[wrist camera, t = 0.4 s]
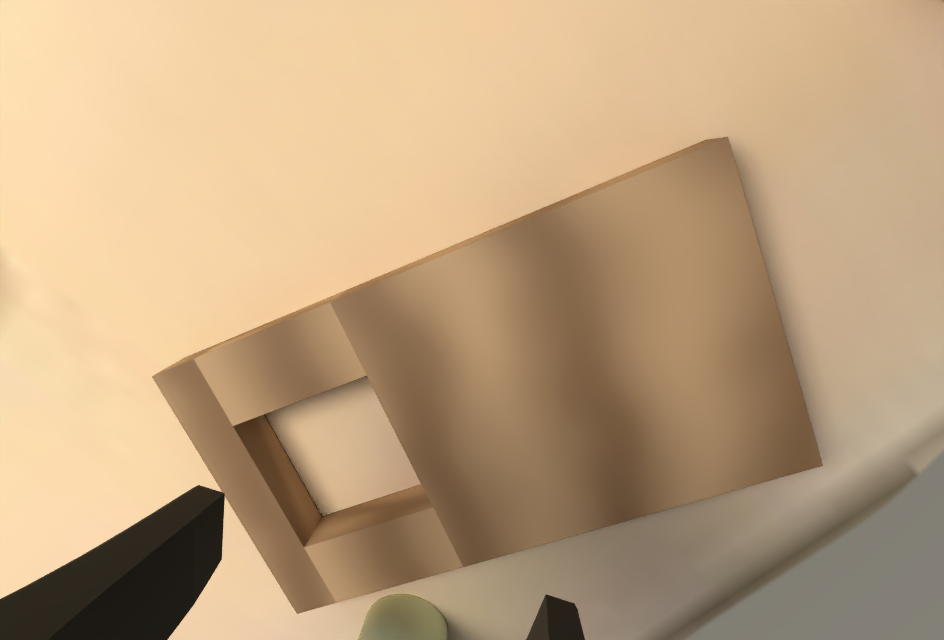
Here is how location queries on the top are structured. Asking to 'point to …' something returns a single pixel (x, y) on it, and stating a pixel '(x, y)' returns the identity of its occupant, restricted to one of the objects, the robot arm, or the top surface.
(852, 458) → the top surface
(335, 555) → the walnut board
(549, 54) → the top surface
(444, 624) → the peg
